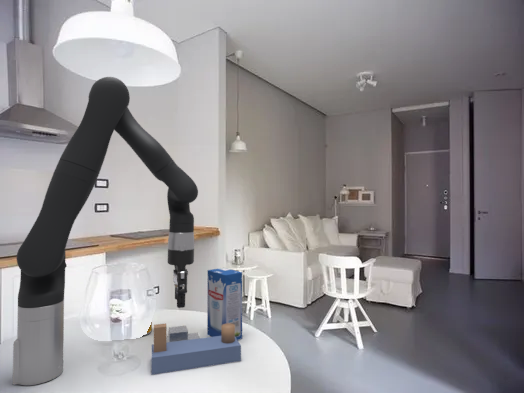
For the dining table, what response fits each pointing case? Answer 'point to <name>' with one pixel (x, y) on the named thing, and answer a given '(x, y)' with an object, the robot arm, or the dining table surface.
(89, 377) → the dining table surface
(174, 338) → the lever cap
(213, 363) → the hand plane
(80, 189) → the robot arm
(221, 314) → the milk carton
